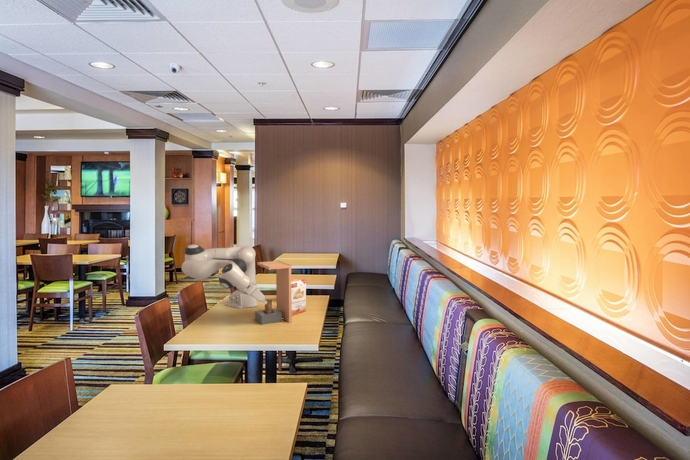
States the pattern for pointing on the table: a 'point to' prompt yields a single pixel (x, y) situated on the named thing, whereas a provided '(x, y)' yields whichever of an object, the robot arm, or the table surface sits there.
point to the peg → (268, 306)
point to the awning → (282, 287)
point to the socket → (268, 316)
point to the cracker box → (298, 295)
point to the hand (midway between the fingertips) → (263, 301)
